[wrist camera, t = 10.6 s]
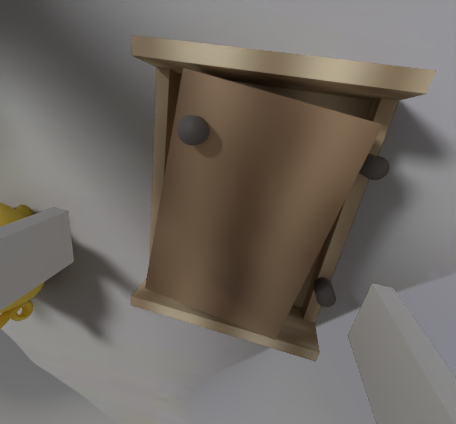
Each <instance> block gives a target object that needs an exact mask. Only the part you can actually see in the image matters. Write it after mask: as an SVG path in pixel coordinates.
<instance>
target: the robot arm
mask: <svg viewBox="0 0 456 424" xmlns="http://www.w3.org/2000/svg"><path fill="white" fill-rule="evenodd" d="M73 262H74V257H73V248H72V239H71V230H70V221H69V212H68V210H63V209H59V208H55V207H53V208H50V209H47V210H45V211H42V212H39V213H36V214H34V215H31V216H28V217H26V218H23V219H20V220H17V221H15V222H12V223H9V224H7V225H4V226H1V227H0V311H1V310H3V309H4V308H6V307H7V306H9V305H10V304H12V303H13V302H15V301H16V300H18V299H19V298H21V297H22V296H24V295H25V294H27V293H28V292H30V291H31V290H33V289H34V288H36V287H37V286H39V285H40V284H42V283H43V282H45V281H46V280H48V279H49V278H50V277H52V276H53V275H55V274H56V273H58V272H59V271H61V270H62V269H64V268H65V267H67V266H68V265H70V264H71V263H73ZM348 338H349V341H350V344H351V347H352V350H353V353H354V356H355V359H356V362H357V365H358V368H359V372H360V375H361V377H362V381H363V384H364V387H365V390H366V393H367V396H368V399H369V402H370V405H371V408H372V412H373V415H374V418H375V421H376V424H456V377H455V376H454V374H453V373H452V371H451V370H450V368H449V367H448V366H447V364H446V363H445V361H444V360H443V358H442V357H441V356H440V354H439V353H438V351H437V350H436V348H435V347H434V345H433V344H432V343H431V341H430V340H429V338H428V337H427V336H426V334H425V333H424V331H423V330H422V328H421V327H420V325H419V324H418V323H417V321H416V320H415V318H414V317H413V315H412V314H411V312H410V311H409V310H408V308H407V307H406V305H405V304H404V303H403V301H402V300H401V298H400V297H399V295H398V294H397V292H396V291H395V290H394V288H390V287H386V286H382V285H378V284H374V283H372V285H371V287H370V289H369V291H368V293H367V295H366V298H365V300H364V302H363V304H362V306H361V308H360V310H359V313H358V315H357V317H356V319H355V321H354V323H353V325H352V328H351V330H350V332H349V334H348Z"/></svg>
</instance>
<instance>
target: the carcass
mask: <svg viewBox="0 0 456 424" xmlns="http://www.w3.org/2000/svg"><path fill="white" fill-rule="evenodd" d="M132 56H134V57H136V58H138V59H141V60H143V61H145V62H147V63H149V64H151V65H153V66H155V67H157V69H156V96H155V124H154V151H153V178H152V206H151V233H150V256H151V250H152V245H153V239H154V233H155V227H156V222H157V216H158V210H159V204H160V198H161V193H162V187H163V181H164V175H165V170H166V164H167V158H168V152H169V147H170V141H171V135H172V129H173V124H174V118H175V112H176V106H177V101H178V95H179V89H180V83H181V78H182V72H183V68H186V69H190V70H193V71H197V72H200V73H204V74H207V75H211V76H214V77H218V78H221V79H225V80H228V81H232V82H235V83H239V84H242V85H246V86H249V87H253V88H256V89H260V90H263V91H267V92H270V93H274V94H277V95H281V96H284V97H288V98H291V99H295V100H298V101H302V102H305V103H309V104H313V105H316V106H320V107H323V108H327V109H330V110H334V111H337V112H341V113H344V114H348V115H351V116H355V117H358V118H362V119H365V120H369V121H372V122H376V123H379V124H383V125H382V127H381V129H380V131H379V133H378V135H377V137H376V139H375V141H374V143H373V145H372V147H371V149H370V151H369V153H368V155H367V157H366V159H365V161H364V163H363V165H362V167H361V169H360V171H359V173H358V175H357V177H356V179H355V181H354V183H353V185H352V187H351V189H350V191H349V193H348V195H347V197H346V199H345V201H344V203H343V205H342V207H341V209H340V211H339V213H338V215H337V217H336V219H335V222H334V224H333V226H332V228H331V230H330V232H329V234H328V236H327V238H326V240H325V242H324V244H323V246H322V248H321V250H320V252H319V254H318V256H317V258H316V260H315V262H314V264H313V266H312V268H311V270H310V272H309V274H308V276H307V278H306V280H305V282H304V284H303V286H302V288H301V290H300V292H299V294H298V296H297V298H296V300H295V302H294V304H293V306H292V308H291V310H290V312H289V314H288V316H287V318H286V320H285V322H284V324H283V326H282V328H281V330H280V332H279V334H278V336H277V338H276V340H274V339H271V338H269V337H266V336H264V335H261V334H259V333H256V332H254V331H251V330H249V329H246V328H244V327H241V326H238V325H236V324H233V323H231V322H228V321H226V320H223V319H221V318H218V317H216V316H213V315H211V314H208V313H206V312H203V311H201V310H198V309H196V308H193V307H191V306H188V305H186V304H183V303H181V302H178V301H176V300H173V299H171V298H168V297H166V296H163V295H161V294H158V293H156V292H153V291H151V290H148V289H146V288H145V285H146V280H145V281H144V282H143V283H142V284H141V285H140V286H139V288H138V289H137V290H136V291H135V292H134V293H133V294H132V295H131V305H132V306H136V307H139V308H142V309H146V310H149V311H152V312H155V313H159V314H162V315H165V316H168V317H172V318H175V319H178V320H182V321H185V322H188V323H191V324H195V325H198V326H201V327H205V328H208V329H211V330H214V331H218V332H221V333H224V334H227V335H231V336H234V337H237V338H241V339H244V340H247V341H250V342H254V343H257V344H260V345H264V346H267V347H270V348H273V349H277V350H280V351H283V352H286V353H290V354H293V355H297V356H300V357H303V358H306V359H309V360H313V361H316V360H317V357H318V355H319V346H318V340H317V334H316V328H315V321H316V318H317V315H318V313H319V310H320V308H321V306H324V307H329V306H332V305H333V304H334V303H335V302H336V297H335V294H334V291H333V287H332V284H331V282H330V281H331V278H332V276H333V273H334V271H335V268H336V265H337V263H338V260H339V257H340V255H341V252H342V249H343V247H344V244H345V241H346V239H347V236H348V234H349V231H350V228H351V226H352V223H353V220H354V218H355V215H356V212H357V210H358V207H359V204H360V202H361V199H362V197H363V194H364V191H365V189H366V186H367V183H368V181H369V179H371V180H378V179H381V178H382V177H384V176H385V175H386V174H387V172H388V170H389V163H388V161H387V160H386V159H385V158H383V157H380V156H378V154H379V152H380V149H381V146H382V144H383V141H384V138H385V136H386V133H387V130H388V128H389V125H390V123H391V120H392V117H393V115H394V112H395V109H396V107H397V104H398V101H399V100H403V99H407V98H411V97H415V96H419V95H423V94H427V91H428V89H429V86H430V84H431V81H432V79H433V77H434V74H435V72H436V71H435V70H426V69H418V68H409V67H401V66H392V65H384V64H375V63H367V62H358V61H349V60H341V59H332V58H324V57H315V56H307V55H298V54H290V53H281V52H272V51H264V50H255V49H247V48H238V47H230V46H221V45H212V44H204V43H195V42H187V41H178V40H170V39H161V38H153V37H144V36H135V35H132ZM149 262H150V260H149Z"/></svg>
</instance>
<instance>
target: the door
mask: <svg viewBox="0 0 456 424" xmlns="http://www.w3.org/2000/svg"><path fill="white" fill-rule="evenodd" d="M382 125H383V124H379V123H376V122H372V121H369V120H365V119H362V118H358V117H355V116H351V115H348V114H344V113H341V112H337V111H334V110H330V109H327V108H323V107H320V106H316V105H313V104H309V103H305V102H302V101H298V100H295V99H291V98H288V97H284V96H281V95H277V94H274V93H270V92H267V91H263V90H260V89H256V88H253V87H249V86H246V85H242V84H239V83H235V82H232V81H228V80H225V79H221V78H218V77H214V76H211V75H207V74H204V73H200V72H197V71H193V70H190V69H186V68H183V72H182V78H181V83H180V89H179V95H178V101H177V106H176V112H175V118H174V124H173V129H172V135H171V141H170V147H169V152H168V158H167V164H166V170H165V175H164V181H163V187H162V193H161V198H160V204H159V210H158V216H157V222H156V227H155V233H154V239H153V245H152V250H151V256H150V262H149V268H148V273H147V279H146V285H145V288H146V289H148V290H151V291H153V292H156V293H158V294H161V295H163V296H166V297H168V298H171V299H173V300H176V301H178V302H181V303H183V304H186V305H188V306H191V307H193V308H196V309H198V310H201V311H203V312H206V313H208V314H211V315H213V316H216V317H218V318H221V319H223V320H226V321H228V322H231V323H233V324H236V325H238V326H241V327H244V328H246V329H249V330H251V331H254V332H256V333H259V334H261V335H264V336H266V337H269V338H271V339H274V340H276V338H277V336H278V334H279V332H280V330H281V328H282V326H283V324H284V322H285V320H286V318H287V316H288V314H289V312H290V310H291V308H292V306H293V304H294V302H295V300H296V298H297V296H298V294H299V292H300V290H301V288H302V286H303V284H304V282H305V280H306V278H307V276H308V274H309V272H310V270H311V268H312V266H313V264H314V262H315V260H316V258H317V256H318V254H319V252H320V250H321V248H322V246H323V244H324V242H325V240H326V238H327V236H328V234H329V232H330V230H331V228H332V226H333V224H334V222H335V219H336V217H337V215H338V213H339V211H340V209H341V207H342V205H343V203H344V201H345V199H346V197H347V195H348V193H349V191H350V189H351V187H352V185H353V183H354V181H355V179H356V177H357V175H358V173H359V171H360V169H361V167H362V165H363V163H364V161H365V159H366V157H367V155H368V153H369V151H370V149H371V147H372V145H373V143H374V141H375V139H376V137H377V135H378V133H379V131H380V129H381V127H382Z"/></svg>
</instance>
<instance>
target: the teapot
mask: <svg viewBox="0 0 456 424" xmlns="http://www.w3.org/2000/svg"><path fill="white" fill-rule="evenodd" d="M31 215H33V212H32V211H31V209H30V208H29V207H27V206H25V205H20V206H18V207H17V208H16V209H13V208H11V207H9V206H7V205H5V204H2V203H0V227H1V226H4V225H7V224H9V223H12V222H15V221H17V220H20V219H23V218H26V217H28V216H31ZM43 285H44V282H43V283H42V284H40V285H39V286H37V287H36V288H34V289H33V290H31V291H30V292H28V293H27V294H25V295H24V296H22V297H21V298H19V299H18V300H16V301H15V302H13V303H12V304H10V305H9V306H7V307H6V308H4V309H3V310H1V311H0V313H2V314H1V315H0V329H1V328H2V327H3V326H4V325H5V324H6V323H7V322H8V321H9V319H10V318H11V319H12V320H15V321H20V320H24V319H26V318H27V317H29V316H30V315H31V313H32V311H33V303H32V302H31V301H30V299H32V298H33V297H34V296H36V295H37V294H38V292H39V291H40V290H41V288H42V287H43ZM20 308H22V312H21V314H20V315H18V314H17V311H18V310H19V309H20Z"/></svg>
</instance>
